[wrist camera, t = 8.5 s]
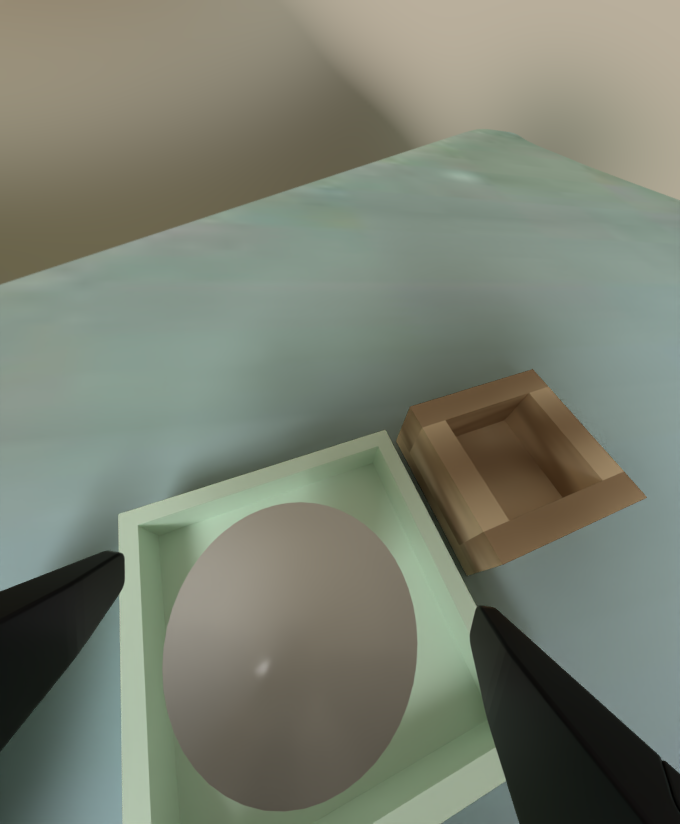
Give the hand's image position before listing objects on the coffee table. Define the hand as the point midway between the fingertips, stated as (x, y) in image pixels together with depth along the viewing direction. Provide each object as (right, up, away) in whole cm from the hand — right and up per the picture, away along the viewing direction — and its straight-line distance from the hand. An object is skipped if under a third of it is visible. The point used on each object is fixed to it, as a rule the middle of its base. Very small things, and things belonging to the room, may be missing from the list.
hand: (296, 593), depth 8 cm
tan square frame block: (+10, +1, +12) cm, 16 cm away
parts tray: (-1, -5, +7) cm, 9 cm away
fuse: (0, -5, +7) cm, 8 cm away
